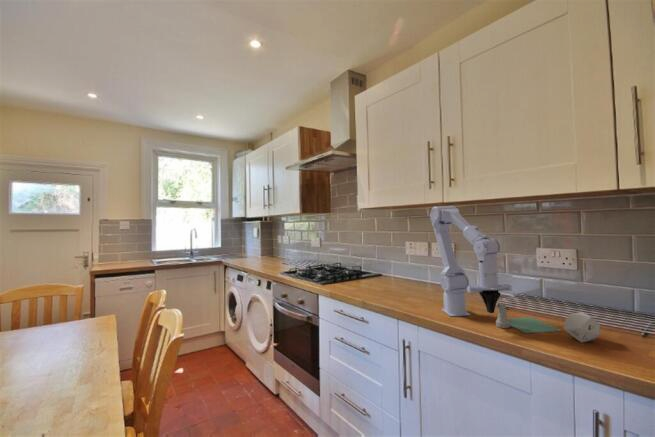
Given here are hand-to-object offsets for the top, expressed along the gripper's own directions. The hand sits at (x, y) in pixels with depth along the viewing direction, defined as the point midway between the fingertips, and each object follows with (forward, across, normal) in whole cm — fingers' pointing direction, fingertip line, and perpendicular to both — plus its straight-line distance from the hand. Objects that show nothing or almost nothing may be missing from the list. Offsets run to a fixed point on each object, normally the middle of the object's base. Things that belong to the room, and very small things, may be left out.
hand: (490, 312), depth 106 cm
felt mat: (+5, +13, 0) cm, 14 cm away
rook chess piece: (+5, +4, 0) cm, 7 cm away
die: (+6, +20, -14) cm, 25 cm away
